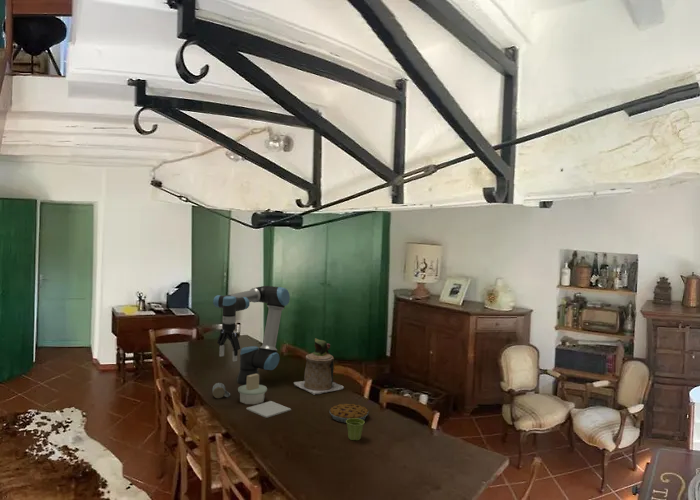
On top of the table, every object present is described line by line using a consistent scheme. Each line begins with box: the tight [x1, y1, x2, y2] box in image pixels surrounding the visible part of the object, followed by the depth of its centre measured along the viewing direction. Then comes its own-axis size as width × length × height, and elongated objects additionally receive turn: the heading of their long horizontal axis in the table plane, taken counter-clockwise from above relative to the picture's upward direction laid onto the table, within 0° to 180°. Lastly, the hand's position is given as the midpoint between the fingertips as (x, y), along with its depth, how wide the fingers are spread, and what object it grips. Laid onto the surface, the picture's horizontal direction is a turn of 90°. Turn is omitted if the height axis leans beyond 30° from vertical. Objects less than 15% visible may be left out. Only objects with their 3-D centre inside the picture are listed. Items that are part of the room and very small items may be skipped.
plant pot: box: [346, 418, 366, 441], centre depth 275 cm, size 9×9×9 cm
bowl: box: [239, 392, 266, 405], centre depth 325 cm, size 14×14×6 cm
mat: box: [246, 400, 292, 419], centre depth 310 cm, size 18×18×1 cm
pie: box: [329, 403, 369, 424], centre depth 304 cm, size 22×22×5 cm
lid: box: [237, 373, 268, 395], centre depth 325 cm, size 17×17×9 cm
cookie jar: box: [293, 338, 345, 396], centre depth 354 cm, size 25×25×32 cm
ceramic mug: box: [211, 382, 231, 399], centre depth 329 cm, size 11×8×8 cm
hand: (228, 358), depth 320 cm, fingers open, 13 cm apart
